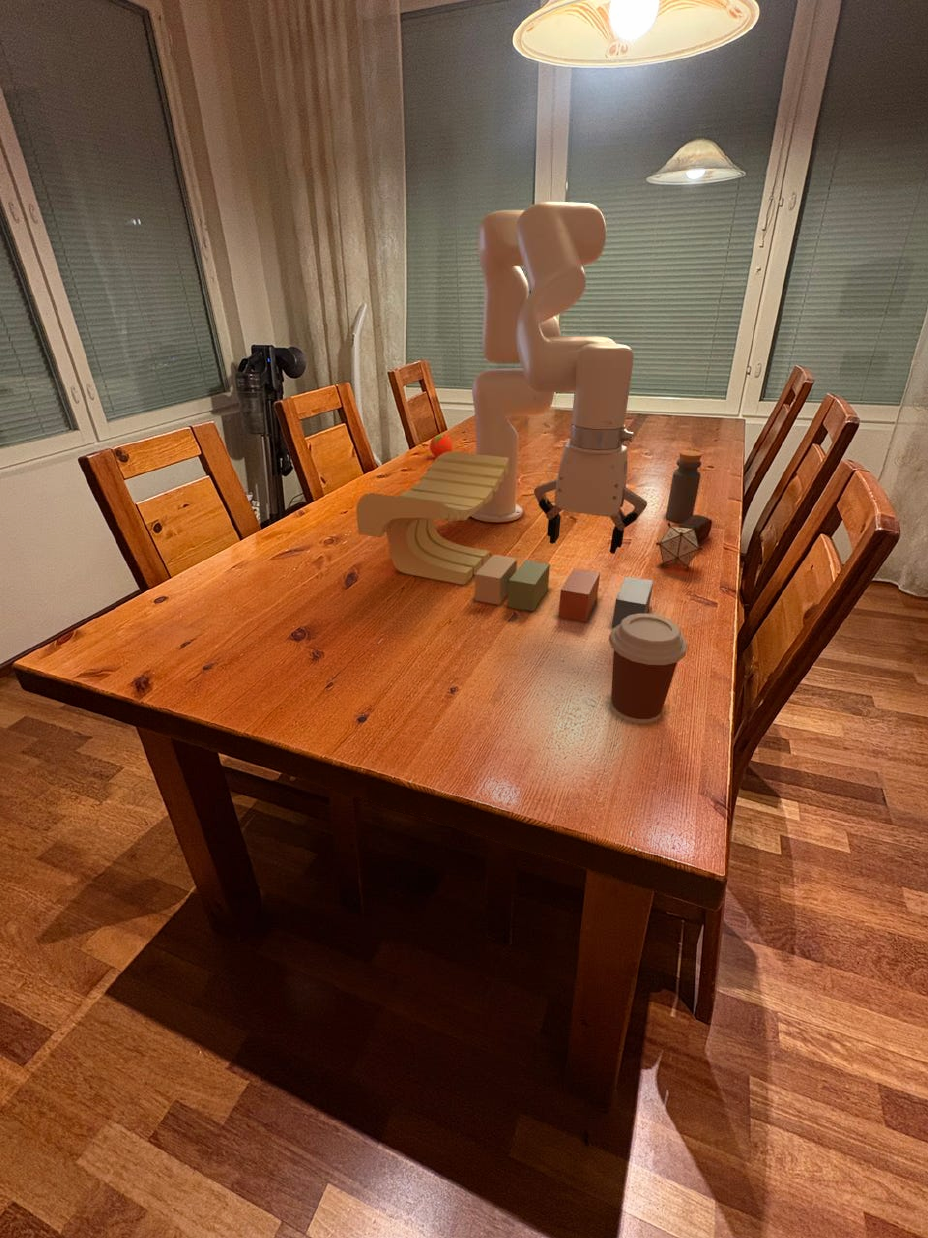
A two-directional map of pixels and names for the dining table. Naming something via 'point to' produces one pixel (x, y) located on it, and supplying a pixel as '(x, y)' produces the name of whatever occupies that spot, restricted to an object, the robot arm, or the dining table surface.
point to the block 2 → (528, 585)
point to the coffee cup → (644, 665)
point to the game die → (679, 546)
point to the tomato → (440, 445)
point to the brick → (698, 526)
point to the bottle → (684, 487)
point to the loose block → (579, 594)
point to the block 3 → (632, 598)
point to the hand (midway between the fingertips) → (583, 545)
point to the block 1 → (494, 579)
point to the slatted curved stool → (434, 516)
